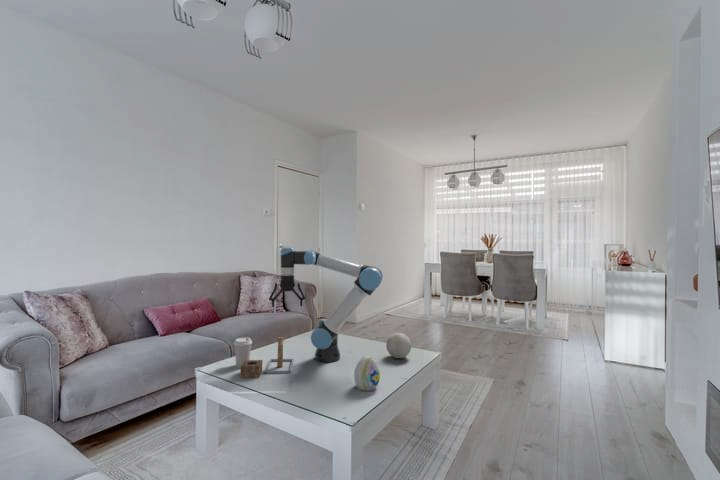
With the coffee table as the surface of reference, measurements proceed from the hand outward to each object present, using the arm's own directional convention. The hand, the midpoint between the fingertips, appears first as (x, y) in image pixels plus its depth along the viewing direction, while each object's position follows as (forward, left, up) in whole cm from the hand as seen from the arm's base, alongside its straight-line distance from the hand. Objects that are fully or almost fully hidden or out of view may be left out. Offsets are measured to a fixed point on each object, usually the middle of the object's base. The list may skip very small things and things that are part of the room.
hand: (287, 312), depth 195 cm
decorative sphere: (-67, -7, -29) cm, 73 cm away
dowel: (+2, +8, -28) cm, 29 cm away
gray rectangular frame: (+2, +8, -29) cm, 30 cm away
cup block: (+15, +18, -29) cm, 37 cm away
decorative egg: (-42, +35, -29) cm, 62 cm away
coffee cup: (+23, +5, -29) cm, 37 cm away
